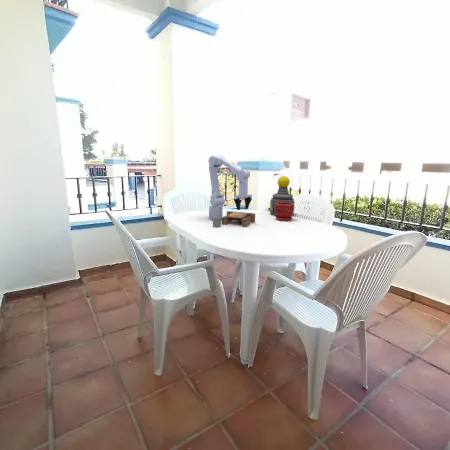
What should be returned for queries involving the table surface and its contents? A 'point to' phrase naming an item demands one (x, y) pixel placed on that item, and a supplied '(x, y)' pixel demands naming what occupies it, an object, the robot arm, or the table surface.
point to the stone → (216, 221)
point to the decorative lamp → (281, 195)
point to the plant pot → (284, 211)
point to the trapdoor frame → (245, 221)
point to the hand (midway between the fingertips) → (242, 209)
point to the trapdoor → (237, 215)
